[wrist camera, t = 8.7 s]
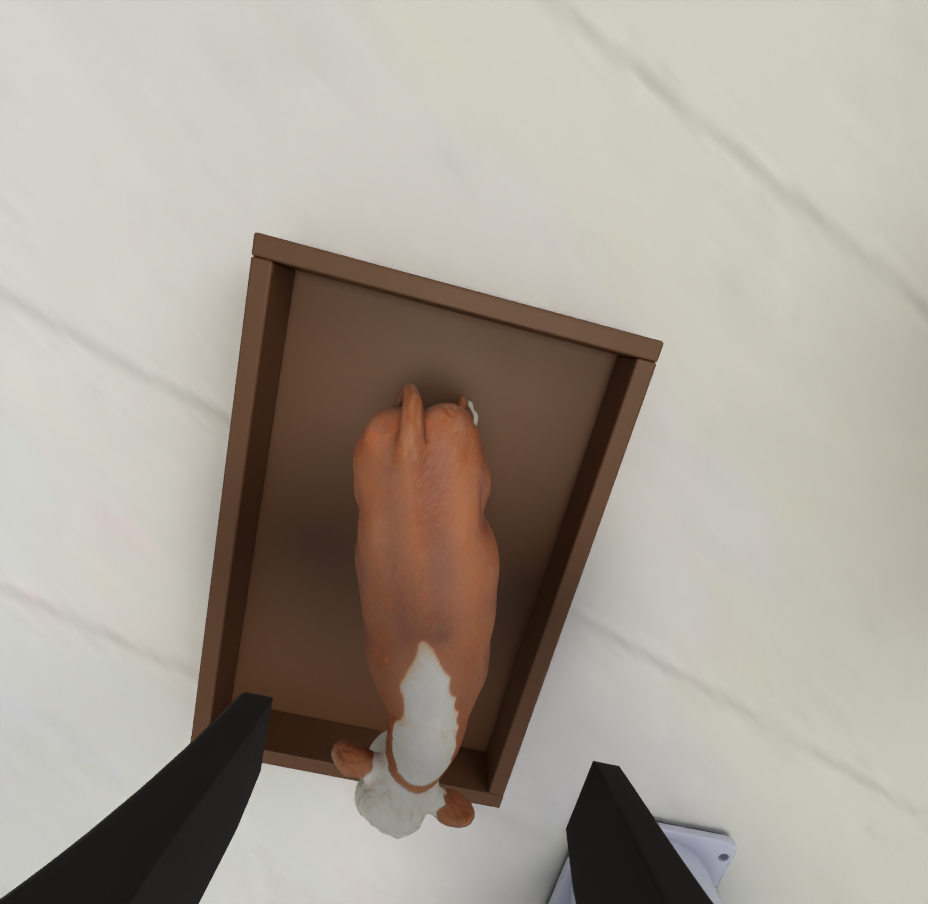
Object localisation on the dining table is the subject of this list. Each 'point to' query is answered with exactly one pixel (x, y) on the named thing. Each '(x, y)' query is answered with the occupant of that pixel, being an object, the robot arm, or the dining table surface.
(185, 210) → the dining table surface
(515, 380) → the walnut tray
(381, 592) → the bull figurine
